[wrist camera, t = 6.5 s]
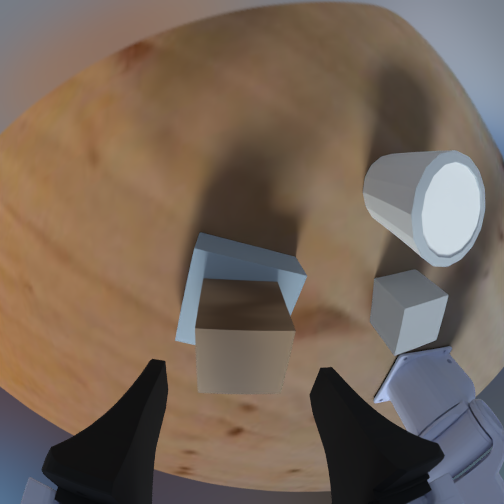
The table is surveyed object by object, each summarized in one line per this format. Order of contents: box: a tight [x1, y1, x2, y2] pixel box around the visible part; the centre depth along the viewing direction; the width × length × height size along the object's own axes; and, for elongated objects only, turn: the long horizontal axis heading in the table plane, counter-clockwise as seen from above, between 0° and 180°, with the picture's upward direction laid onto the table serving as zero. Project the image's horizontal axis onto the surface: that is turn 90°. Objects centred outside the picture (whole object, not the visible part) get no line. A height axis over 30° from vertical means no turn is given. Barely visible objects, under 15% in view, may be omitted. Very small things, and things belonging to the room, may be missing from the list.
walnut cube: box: [195, 278, 296, 394], centre depth 15 cm, size 4×4×5 cm
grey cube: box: [370, 269, 448, 356], centre depth 19 cm, size 4×4×5 cm
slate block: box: [175, 232, 307, 345], centre depth 19 cm, size 7×7×4 cm
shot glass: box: [363, 150, 485, 267], centre depth 15 cm, size 7×7×7 cm
